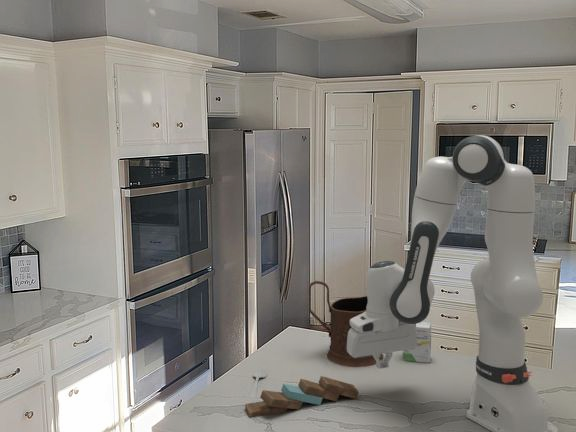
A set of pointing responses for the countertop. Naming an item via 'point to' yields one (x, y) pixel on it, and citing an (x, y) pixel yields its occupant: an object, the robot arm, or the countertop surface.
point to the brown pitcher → (343, 329)
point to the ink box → (420, 345)
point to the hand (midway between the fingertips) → (382, 367)
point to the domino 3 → (299, 394)
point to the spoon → (257, 372)
